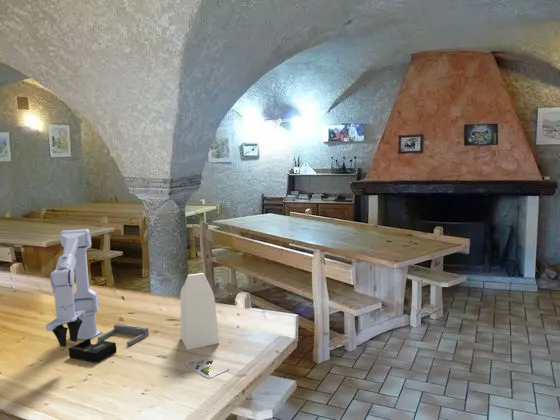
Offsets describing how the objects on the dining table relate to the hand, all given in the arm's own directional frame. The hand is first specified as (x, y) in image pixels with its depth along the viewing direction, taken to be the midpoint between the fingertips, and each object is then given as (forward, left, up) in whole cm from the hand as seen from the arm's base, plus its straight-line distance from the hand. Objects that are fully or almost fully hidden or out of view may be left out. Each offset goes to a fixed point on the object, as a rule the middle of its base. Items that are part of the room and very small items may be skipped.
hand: (68, 343), depth 157 cm
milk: (+30, +34, -9) cm, 46 cm away
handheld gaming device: (+44, +16, -9) cm, 48 cm away
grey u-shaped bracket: (0, +26, -8) cm, 27 cm away
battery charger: (0, +10, -9) cm, 14 cm away
